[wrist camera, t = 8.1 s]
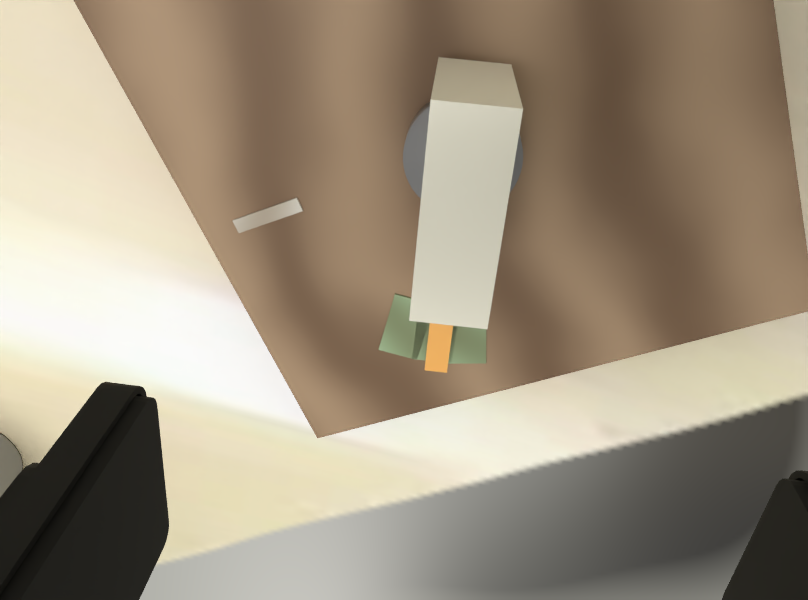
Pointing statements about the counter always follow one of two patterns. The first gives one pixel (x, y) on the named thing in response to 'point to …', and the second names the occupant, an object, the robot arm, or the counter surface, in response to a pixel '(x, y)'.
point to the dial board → (528, 201)
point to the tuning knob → (461, 195)
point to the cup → (8, 463)
